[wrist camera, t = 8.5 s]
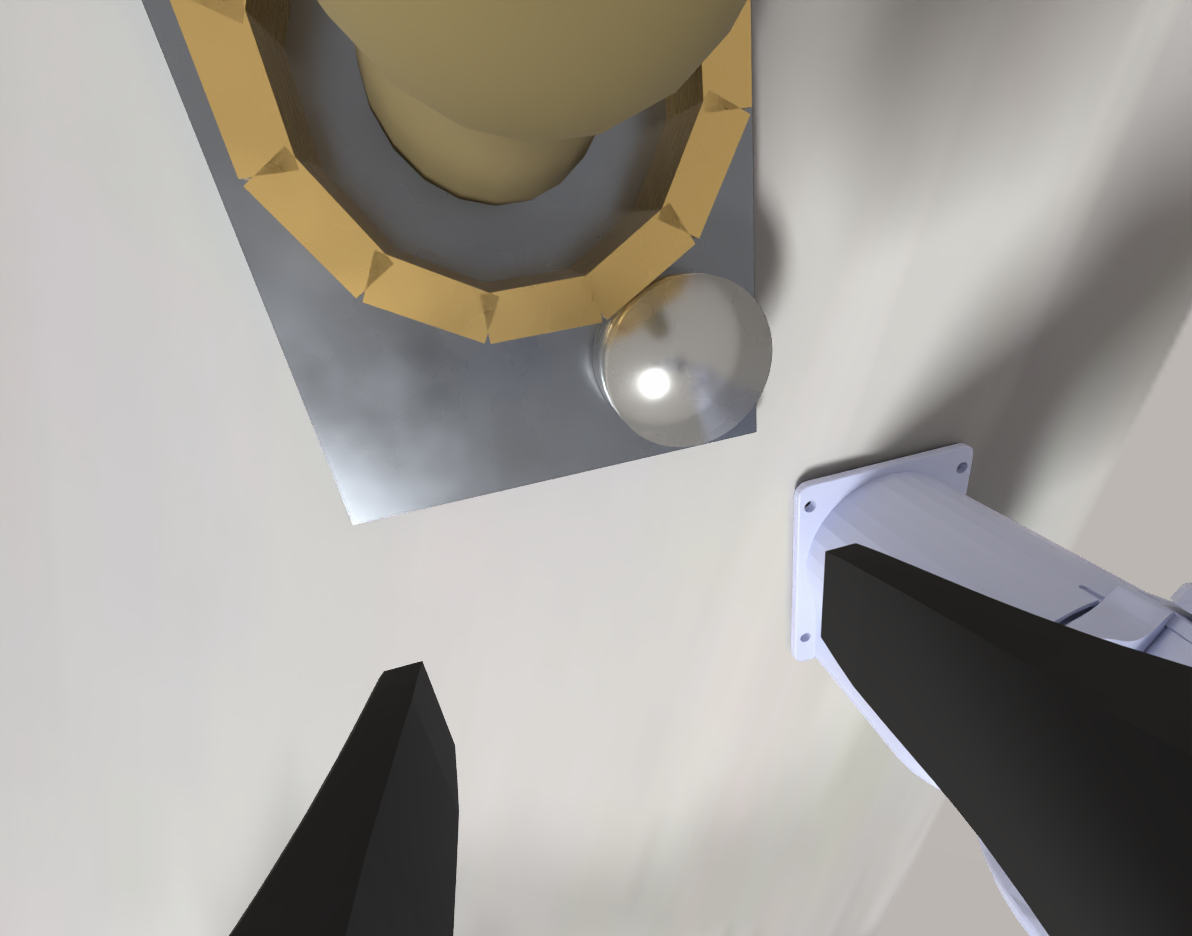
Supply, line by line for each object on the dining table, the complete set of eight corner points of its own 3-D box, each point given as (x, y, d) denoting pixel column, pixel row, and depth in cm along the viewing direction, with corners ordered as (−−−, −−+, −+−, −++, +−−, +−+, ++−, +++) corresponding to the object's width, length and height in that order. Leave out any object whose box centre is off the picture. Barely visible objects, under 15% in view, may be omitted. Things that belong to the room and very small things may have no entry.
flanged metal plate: (743, 422, 20) (794, 459, 17) (358, 510, 18) (336, 569, 15) (725, -311, 12) (814, -492, 9) (43, -294, 10) (-137, -517, 7)
